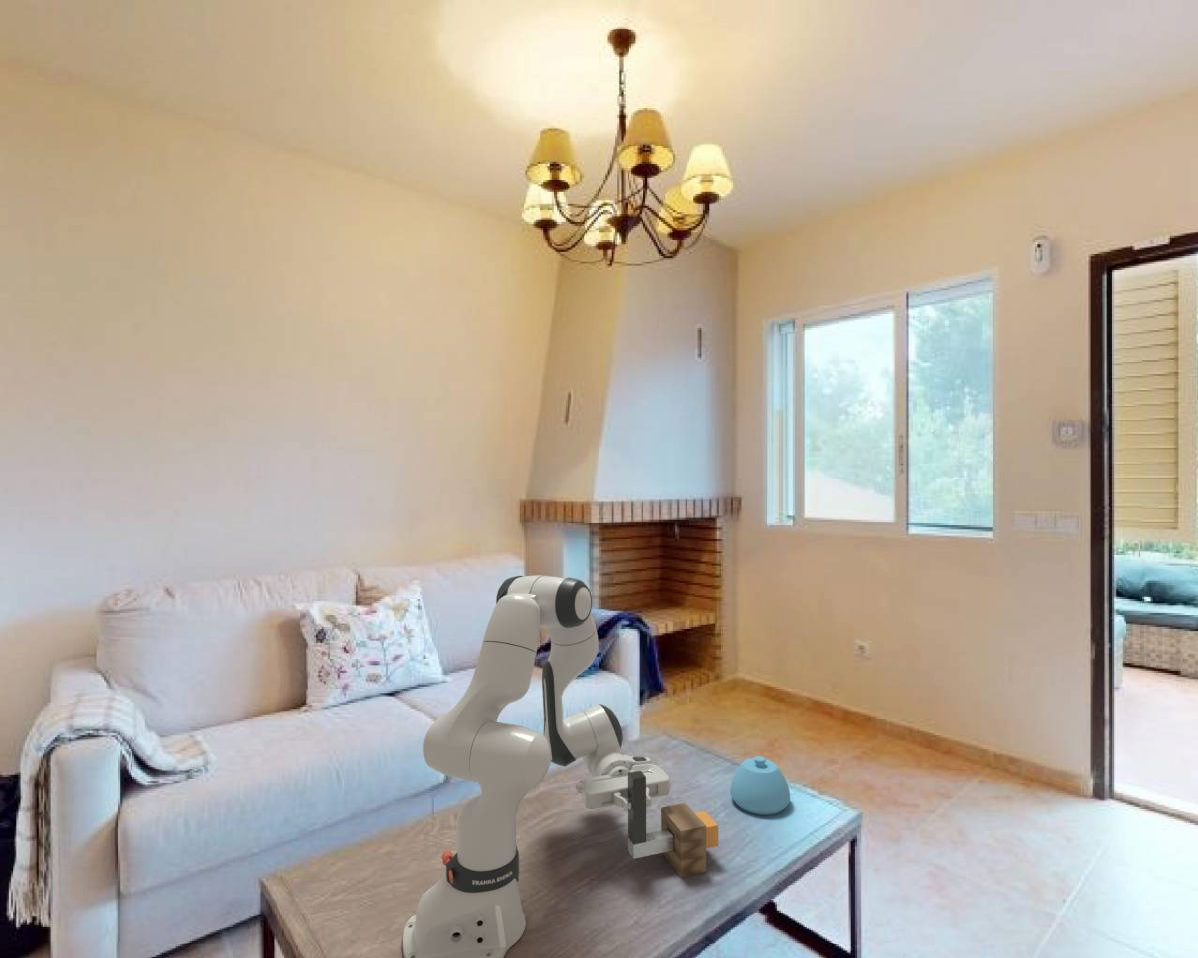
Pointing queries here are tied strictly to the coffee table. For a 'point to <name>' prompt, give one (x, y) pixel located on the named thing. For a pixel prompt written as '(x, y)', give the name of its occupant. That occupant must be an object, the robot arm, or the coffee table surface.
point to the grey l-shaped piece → (643, 822)
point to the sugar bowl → (760, 787)
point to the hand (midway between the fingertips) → (638, 804)
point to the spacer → (709, 829)
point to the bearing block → (685, 839)
